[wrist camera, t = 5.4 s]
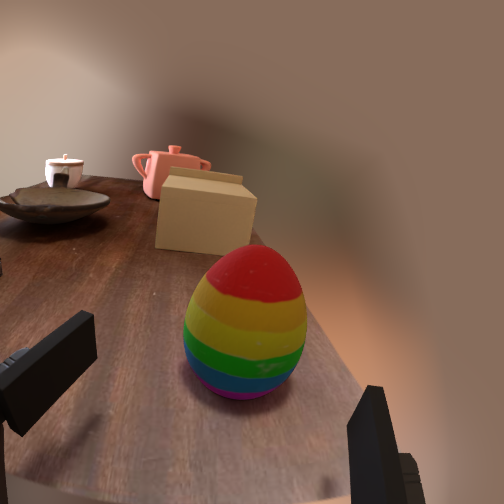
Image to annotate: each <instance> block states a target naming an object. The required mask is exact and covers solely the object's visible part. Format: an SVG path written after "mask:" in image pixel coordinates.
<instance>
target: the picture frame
mask: <svg viewBox="0 0 504 504" xmlns="http://www.w3.org/2000/svg"><path fill="white" fill-rule="evenodd" d="M0 260H1V258H0ZM2 275H3V274H2V265H1V261H0V277H1V276H2Z"/></svg>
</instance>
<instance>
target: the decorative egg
mask: <svg viewBox="0 0 504 504" xmlns="http://www.w3.org/2000/svg"><path fill="white" fill-rule="evenodd" d="M306 332H307V312H306V304H305V299H304V295H303V292H302V288H301V285H300V283H299V281H298V278H297V277H296V274H295V273H294V271H293V269H292V268H291V267H290V265H289V264H288V262H287V261H286V260H285V259H284V258H283V257H282V256H281V255H280V254H279V253H277V252H276V251H275V250H273V249H271V248H269V247H266V246H263V245H247V246H243V247H240V248H237V249H235V250H233V251H231V252H229V253H228V254H226V255H225V256H223V257H222V258H221V259H220V260H219V261H217V262H216V263H215V264H214V265H213V266H212V267H211V268H210V269H209V270H208V271H207V272H206V274H205V275H204V276H203V278H202V279H201V281H200V282H199V284H198V286H197V287H196V289H195V291H194V293H193V295H192V297H191V300H190V302H189V305H188V308H187V312H186V316H185V322H184V334H183V337H184V348H185V352H186V356H187V359H188V362H189V364H190V366H191V368H192V370H193V372H194V373H195V375H196V376H197V378H198V379H199V380H200V381H201V382H202V383H203V384H204V385H205V386H206V387H207V388H208V389H210V390H211V391H213V392H214V393H216V394H218V395H221V396H223V397H226V398H231V399H238V400H246V399H254V398H257V397H261V396H263V395H265V394H267V393H269V392H271V391H273V390H274V389H276V388H277V387H279V386H280V385H281V384H282V383H283V382H284V381H285V380H286V379H287V378H288V377H289V376H290V374H291V373H292V371H293V370H294V368H295V367H296V365H297V363H298V361H299V359H300V356H301V354H302V351H303V347H304V344H305V338H306Z"/></svg>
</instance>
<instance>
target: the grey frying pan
mask: <svg viewBox="0 0 504 504" xmlns="http://www.w3.org/2000/svg"><path fill="white" fill-rule="evenodd" d="M68 181H69V168H68V167H67V166H65V167H63V169H62V170H61V172H60V173H55V174H54V175H53V186H52V187H45V188H44V187H43V188H19V189H16V191H15V192H14V193H11V194H9V195H10V197H11V199H12V200H13V201H14V202H15V204H16V205H15V204H10V203H5V202H3V201H1V200H0V210H1V211H2V212H4V213H6V214H8V215H10V216H12V217H14V218H17V219H20V220H23V221H26V222H31V223H40V224H60V223H66V222H70V221H74V220H77V219H80V218H82V217H85V216H87V215H90V214H92V213H94V212H96V211H98V210H100V209H102V208H104V207H106V206H107V205H108V204H109V203H110V197H108V196H106V195H104V194H99V193H94V192H89V191H85V190H78V189H71V188H67V185H68Z"/></svg>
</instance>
